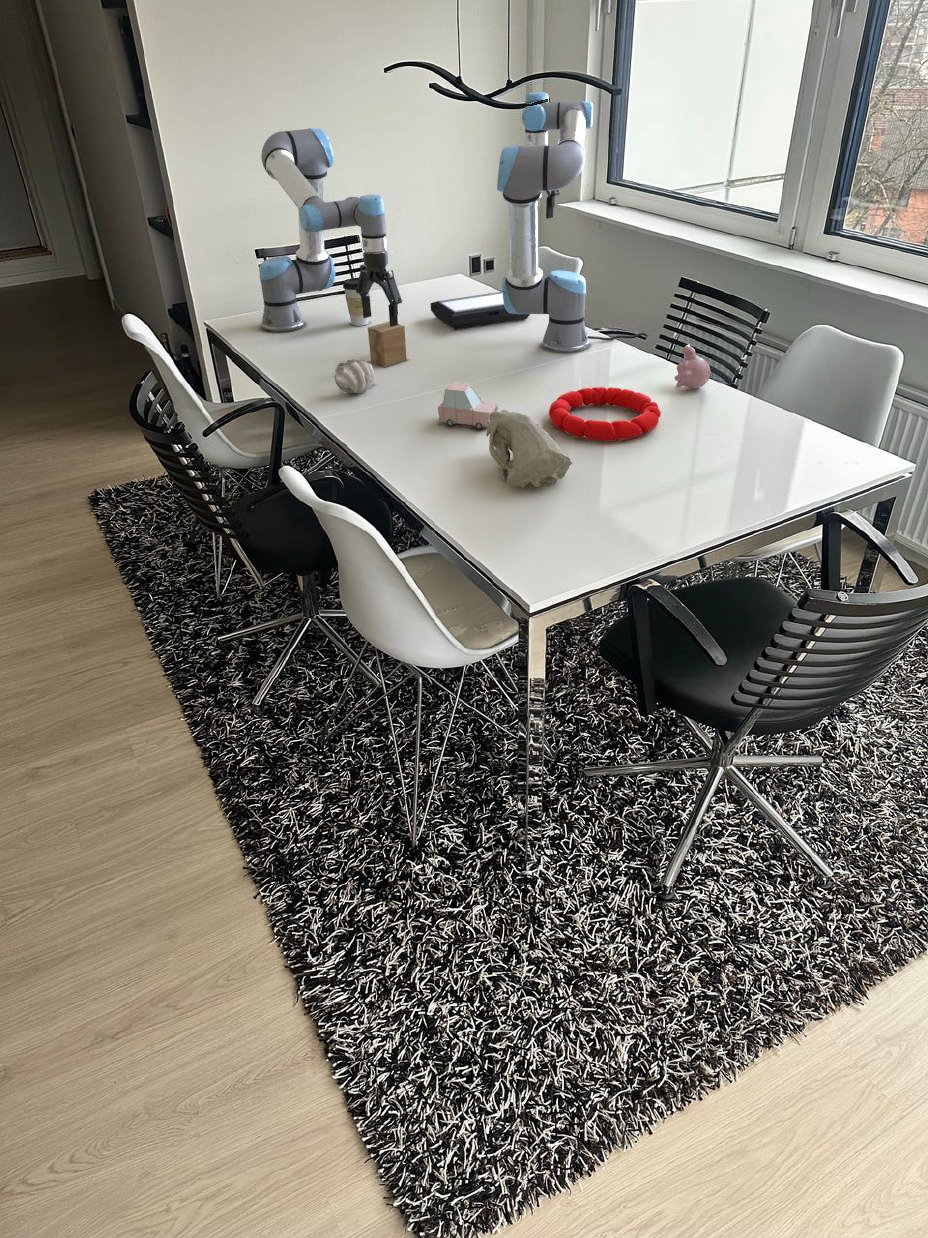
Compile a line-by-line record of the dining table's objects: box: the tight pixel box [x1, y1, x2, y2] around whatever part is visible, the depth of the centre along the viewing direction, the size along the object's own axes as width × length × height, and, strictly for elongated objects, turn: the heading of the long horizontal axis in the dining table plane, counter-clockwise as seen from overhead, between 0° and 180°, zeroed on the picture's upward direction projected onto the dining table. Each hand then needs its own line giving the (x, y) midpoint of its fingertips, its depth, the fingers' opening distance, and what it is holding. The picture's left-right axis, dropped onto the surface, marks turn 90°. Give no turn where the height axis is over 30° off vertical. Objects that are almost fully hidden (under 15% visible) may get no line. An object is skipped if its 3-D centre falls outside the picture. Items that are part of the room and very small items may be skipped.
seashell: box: [333, 359, 375, 394], centre depth 265 cm, size 10×15×10 cm
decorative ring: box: [548, 386, 661, 442], centre depth 242 cm, size 7×30×30 cm
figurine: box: [674, 344, 711, 390], centre depth 259 cm, size 9×11×12 cm
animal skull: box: [485, 409, 573, 489], centre depth 216 cm, size 17×25×20 cm
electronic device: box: [430, 291, 531, 331], centre depth 325 cm, size 32×6×20 cm
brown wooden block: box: [367, 320, 408, 368], centre depth 288 cm, size 8×9×11 cm
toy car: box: [437, 382, 499, 431], centre depth 243 cm, size 9×15×10 cm, turn 70°
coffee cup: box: [342, 277, 369, 327], centre depth 323 cm, size 10×10×15 cm
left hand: (380, 321), depth 285 cm, fingers open, 13 cm apart
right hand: (535, 215), depth 308 cm, fingers open, 13 cm apart
